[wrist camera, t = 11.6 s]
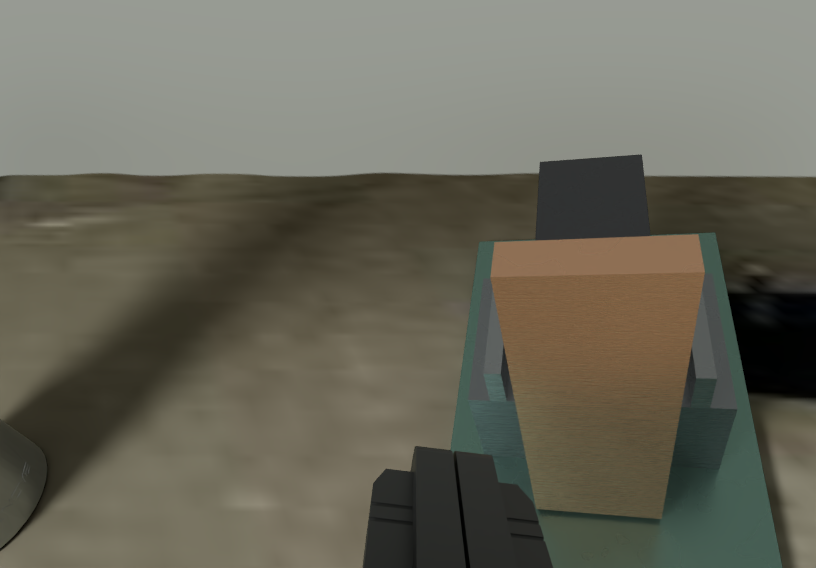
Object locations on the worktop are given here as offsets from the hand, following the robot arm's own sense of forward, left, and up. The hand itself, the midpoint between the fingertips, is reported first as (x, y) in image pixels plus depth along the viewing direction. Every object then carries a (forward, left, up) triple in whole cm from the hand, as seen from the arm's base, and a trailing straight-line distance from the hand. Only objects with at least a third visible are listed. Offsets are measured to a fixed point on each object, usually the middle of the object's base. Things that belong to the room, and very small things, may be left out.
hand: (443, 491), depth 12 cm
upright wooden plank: (+3, +14, -21) cm, 25 cm away
